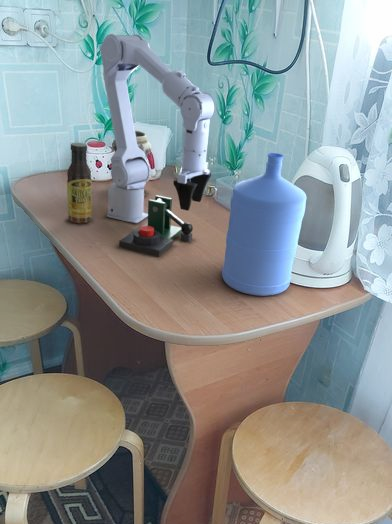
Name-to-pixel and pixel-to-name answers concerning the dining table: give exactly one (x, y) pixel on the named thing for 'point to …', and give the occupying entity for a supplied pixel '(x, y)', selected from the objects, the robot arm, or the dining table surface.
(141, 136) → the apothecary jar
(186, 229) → the rod
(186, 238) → the block
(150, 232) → the button
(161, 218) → the rod bracket
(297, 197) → the water jug
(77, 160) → the sauce bottle
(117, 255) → the dining table surface
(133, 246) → the button box
